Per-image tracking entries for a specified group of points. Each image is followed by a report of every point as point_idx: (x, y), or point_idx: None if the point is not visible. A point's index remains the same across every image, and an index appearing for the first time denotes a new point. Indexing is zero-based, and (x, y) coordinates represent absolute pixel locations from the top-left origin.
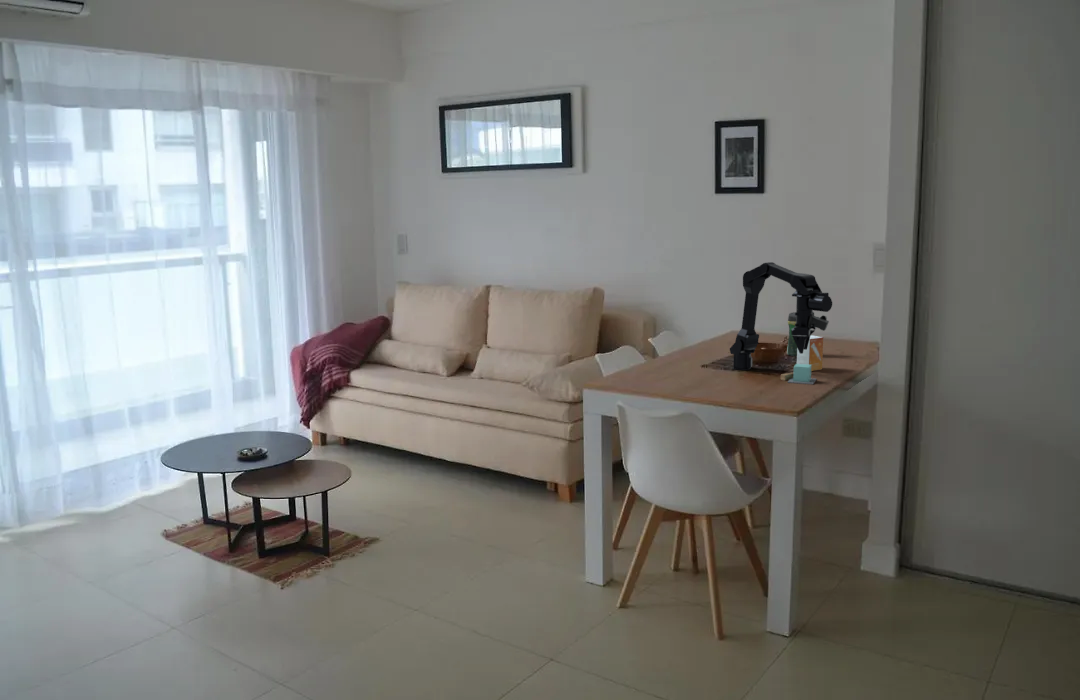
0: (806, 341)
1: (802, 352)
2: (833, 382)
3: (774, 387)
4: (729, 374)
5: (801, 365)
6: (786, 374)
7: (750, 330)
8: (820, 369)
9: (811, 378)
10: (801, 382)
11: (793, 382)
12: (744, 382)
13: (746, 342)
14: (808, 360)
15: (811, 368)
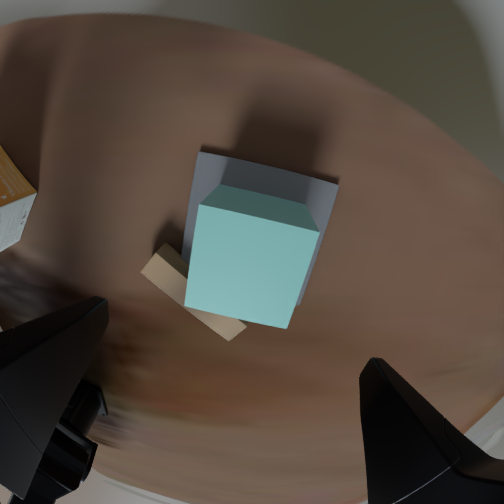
0: (55, 360)
1: (387, 366)
2: (266, 64)
3: (387, 347)
4: (175, 432)
5: (242, 279)
6: (221, 317)
7: (43, 489)
8: (2, 148)
9: (198, 179)
10: (317, 243)
11: (308, 279)
12: (294, 418)
13: (83, 473)
14: (2, 209)
15: (20, 184)
